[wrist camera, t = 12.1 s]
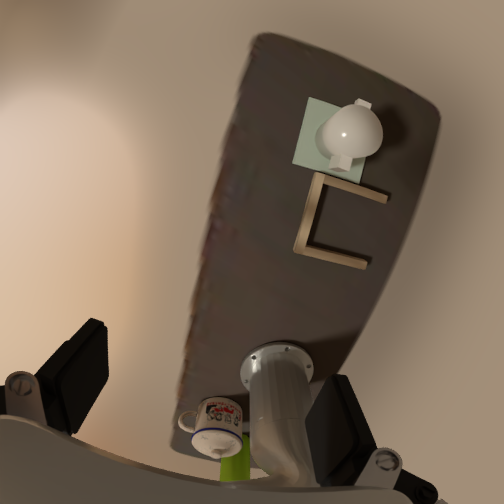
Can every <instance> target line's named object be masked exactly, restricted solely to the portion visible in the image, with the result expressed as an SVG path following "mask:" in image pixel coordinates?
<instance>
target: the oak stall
mask: <svg viewBox="0 0 504 504" xmlns="http://www.w3.org/2000/svg"><path fill="white" fill-rule="evenodd" d="M323 184H326V185H330V186H333V187H336V188H339V189H342V190H345V191H348V192H351V193H354V194H357V195H360V196H363V197H366V198H369V199H372V200H375V201H378V202H381V203H384V204H386V201H387V197H388V196H386V195H384V194H381V193H378V192H376V191H373V190H370V189H367V188H364V187H361V186H359V185H356V184H353V183H350V182H347V181H344V180H341V179H338V178H335V177H331V176H328V175H325V174H322V173H318V172H314V176H313V179H312V183H311V187H310V191H309V195H308V198H307V202H306V206H305V209H304V213H303V217H302V220H301V224H300V227H299V231H298V234H297V238H296V241H295V245H294V248H293V251H294V252H295V253H298V254H302V255H306V256H311V257H315V258H319V259H323V260H327V261H331V262H335V263H339V264H343V265H347V266H351V267H355V268H359V269H363V270H365V268H366V266H367V263H368V262H367V261H365V260H364V259H360V258H357V257H353V256H349V255H345V254H341V253H337V252H334V251H330V250H326V249H322V248H318V247H314V246H310V245H306V242H307V239H308V236H309V232H310V229H311V225H312V222H313V218H314V215H315V211H316V207H317V204H318V200H319V196H320V193H321V189H322V185H323Z"/></svg>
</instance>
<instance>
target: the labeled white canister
mask: <svg viewBox="0 0 504 504" xmlns="http://www.w3.org/2000/svg"><path fill="white" fill-rule="evenodd" d="M370 108H371V104H370V103H368V102H366V101H364V100H361V99H357V100H356V101H355V104H354V105H348V106H345V107H343V108H342V109H340V110H339V111H338V112H337V113H335V114H334V115H333V116H331V117H330V118H329V119H328V120H326V121H325V122H324V123H323V124H321V125H320V126H319V128H318V129H317V131H316V135H315V143H316V147H317V149H318V151H319V152H320V153H321V155H323V156H324V157H325V158H327V159H328V160H330V164H329V167H328V169H330V170H333V171H336V172H348V171H349V170H350V166H351V163H352V159H355V158H360V157H366V156H369V155H372V154H373V153H375V152H376V151H377V150H378V149H379V147H380V145H381V143H382V139H383V130H382V126H381V123H380V121H379V119H378V118H377V116H376V115H375V114H374V113H373V112H372V111H371V110H370Z"/></svg>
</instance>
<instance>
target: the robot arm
mask: <svg viewBox="0 0 504 504" xmlns="http://www.w3.org/2000/svg"><path fill="white" fill-rule="evenodd" d="M107 332H108V330H107V327H106V326H104V322H102V321H99V320H96V319H93V318H90V319H89V320H88V321H87V322H86V323H85V324H84V325H83V326H82V327H81V328H80V329H79V330H78V331H77V332H76V333H75V334H74V335H73V336H72V337H71V339H70V340H68V341H65V342H64V343H63V344H62V345H61V346H60V347H59V348H58V350H56V352H55V353H54V354H53V355H52V356H51V357H50V358H49V359H48V360H47V361H46V362H45V364H44V365H43V366H42V367H41V368H40V369H39V370H38V372H37V373H36V374H35V375H32V374H31V373H28V372H25V371H17V372H14V373H12V374H10V375H9V376H8V377H7V379H6V381H5V385H3V386H0V504H448V503H446V502H445V501H444V500H443V499H441V500H438V492H437V489H436V488H435V487H434V485H432V484H431V483H429V482H427V481H425V480H423V479H421V478H419V477H417V476H415V475H413V474H411V473H409V472H407V471H405V470H404V469H402V459H401V457H400V455H399V454H398V453H397V452H395V451H394V450H392V449H389V448H377V446H376V443H375V441H374V438H373V436H372V433H371V431H370V428H369V426H368V423H367V421H366V419H365V417H364V414H363V412H362V410H361V407H360V405H359V403H358V400H357V398H356V395H355V393H354V391H353V389H352V386H351V384H350V382H349V380H348V377H347V376H346V375H340V374H333V375H332V376H331V377H328V378H327V379H326V381H325V383H324V385H323V387H322V389H321V391H320V393H319V394H318V396H317V398H316V400H315V402H314V401H313V397H312V394H311V390H310V386H309V382H310V380H311V379H312V376H313V371H314V367H313V362H312V359H311V357H310V355H309V354H308V353H307V352H306V351H305V350H304V349H303V348H301V347H300V346H297V345H295V344H292V343H287V342H273V343H268V344H264V345H262V346H260V347H257V348H256V349H254V350H253V351H251V352H250V353H249V354H248V355H247V356H246V357H245V359H244V360H243V362H242V365H241V370H240V376H241V381H242V383H243V385H244V386H245V387H246V389H247V390H249V391H250V451H251V455H252V457H253V459H254V461H255V462H256V464H257V465H258V466H259V467H260V468H261V469H262V470H263V471H264V472H266V473H267V474H268V475H270V476H268V477H263V478H258V479H250V480H239V481H224V482H222V481H215V480H209V479H204V478H198V477H193V476H188V475H183V474H179V473H175V472H170V471H167V470H163V469H159V468H155V467H152V466H148V465H145V464H142V463H139V462H135V461H132V460H129V459H126V458H124V457H121V456H118V455H115V454H113V453H110V452H107V451H105V450H102V449H99V448H97V447H94V446H92V445H90V444H87V443H85V442H83V441H80V440H78V439H76V438H73V437H71V435H72V434H73V433H74V434H76V433H77V432H78V430H79V429H80V427H81V425H82V423H83V421H84V420H85V418H86V416H87V414H88V412H89V411H90V409H91V407H92V406H93V404H94V402H95V401H96V399H97V397H98V396H99V394H100V392H101V390H102V389H103V387H104V385H105V384H106V382H107V380H108V377H109V366H108V340H107V339H108V335H107V334H108V333H107Z"/></svg>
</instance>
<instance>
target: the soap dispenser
mask: <svg viewBox="0 0 504 504" xmlns="http://www.w3.org/2000/svg"><path fill="white" fill-rule="evenodd" d="M242 441H243V447H242V449H241V450H240V451H239V452H238V453H237V454H235V455H233V456H229V457H221V470H220V481H222V482H224V481H239V480H250V439H249V437H248V436H246V435H244V434H242Z"/></svg>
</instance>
